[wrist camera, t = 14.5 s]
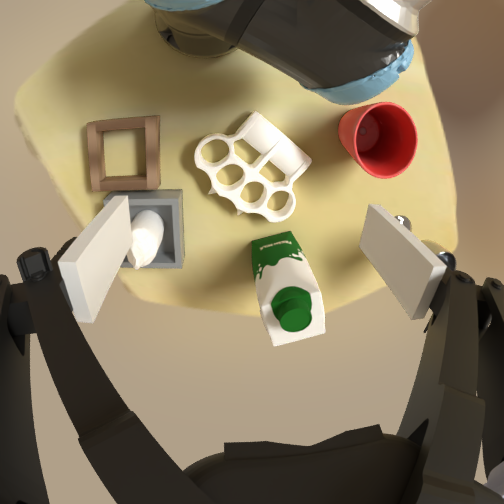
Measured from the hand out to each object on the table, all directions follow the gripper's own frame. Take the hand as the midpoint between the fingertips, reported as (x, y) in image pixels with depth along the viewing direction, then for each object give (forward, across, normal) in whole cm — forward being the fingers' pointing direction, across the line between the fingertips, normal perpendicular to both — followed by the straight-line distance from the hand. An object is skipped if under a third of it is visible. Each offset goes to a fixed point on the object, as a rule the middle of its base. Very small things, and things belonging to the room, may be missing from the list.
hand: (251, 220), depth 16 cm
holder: (+32, -17, -2) cm, 36 cm away
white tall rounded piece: (+31, -13, -15) cm, 37 cm away
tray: (+31, -14, -15) cm, 37 cm away
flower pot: (+32, +20, +3) cm, 38 cm away
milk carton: (+32, +8, -20) cm, 38 cm away
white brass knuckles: (+32, +3, -5) cm, 33 cm away
